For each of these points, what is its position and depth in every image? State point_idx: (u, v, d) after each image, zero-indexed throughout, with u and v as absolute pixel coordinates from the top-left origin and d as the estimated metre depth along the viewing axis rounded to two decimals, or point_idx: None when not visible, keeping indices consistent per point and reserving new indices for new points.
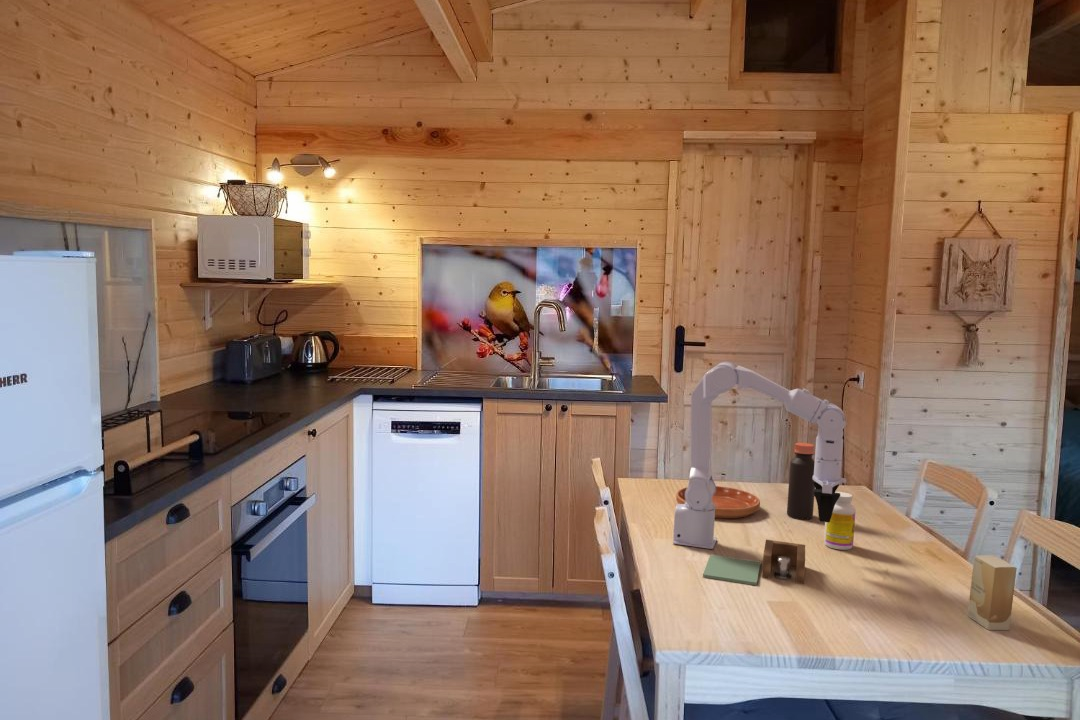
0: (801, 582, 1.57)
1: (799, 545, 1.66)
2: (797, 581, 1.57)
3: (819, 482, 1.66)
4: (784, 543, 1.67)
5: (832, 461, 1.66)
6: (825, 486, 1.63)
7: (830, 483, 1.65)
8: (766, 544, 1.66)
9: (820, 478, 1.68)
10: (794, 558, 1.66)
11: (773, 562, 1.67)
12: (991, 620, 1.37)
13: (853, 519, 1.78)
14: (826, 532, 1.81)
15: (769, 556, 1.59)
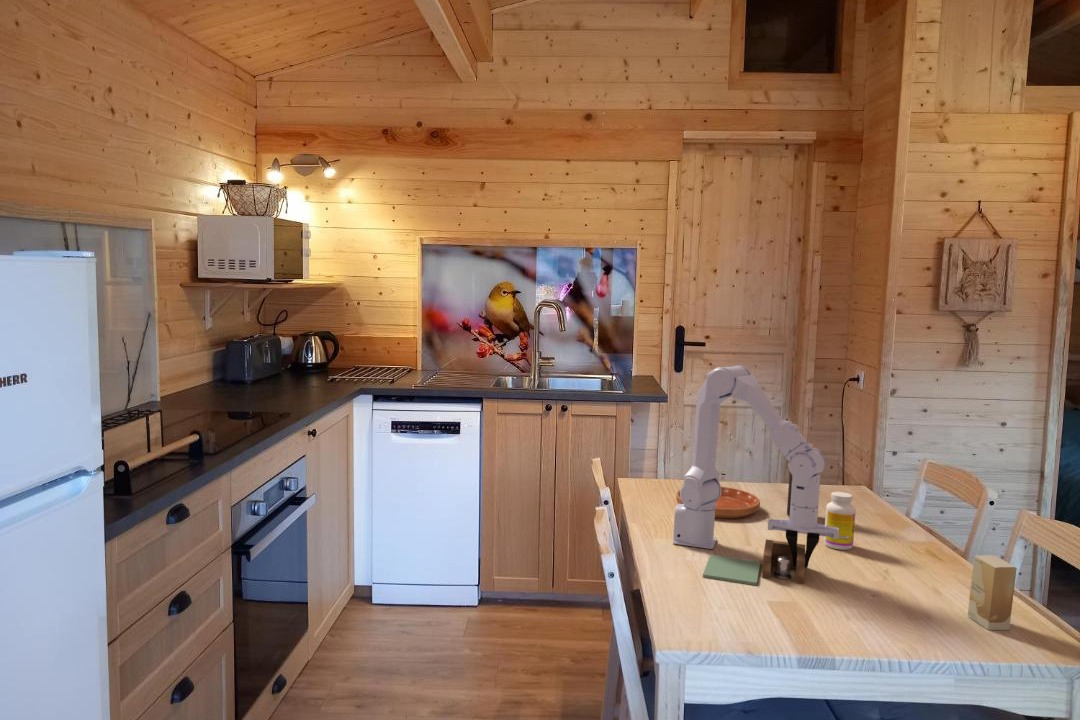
0: (801, 582, 1.57)
1: (799, 545, 1.66)
2: (797, 581, 1.57)
3: None
4: (784, 543, 1.67)
5: (791, 504, 1.62)
6: (768, 520, 1.65)
7: (780, 523, 1.64)
8: (766, 544, 1.66)
9: None
10: None
11: (773, 562, 1.67)
12: (991, 620, 1.37)
13: (853, 519, 1.78)
14: None
15: (769, 556, 1.59)
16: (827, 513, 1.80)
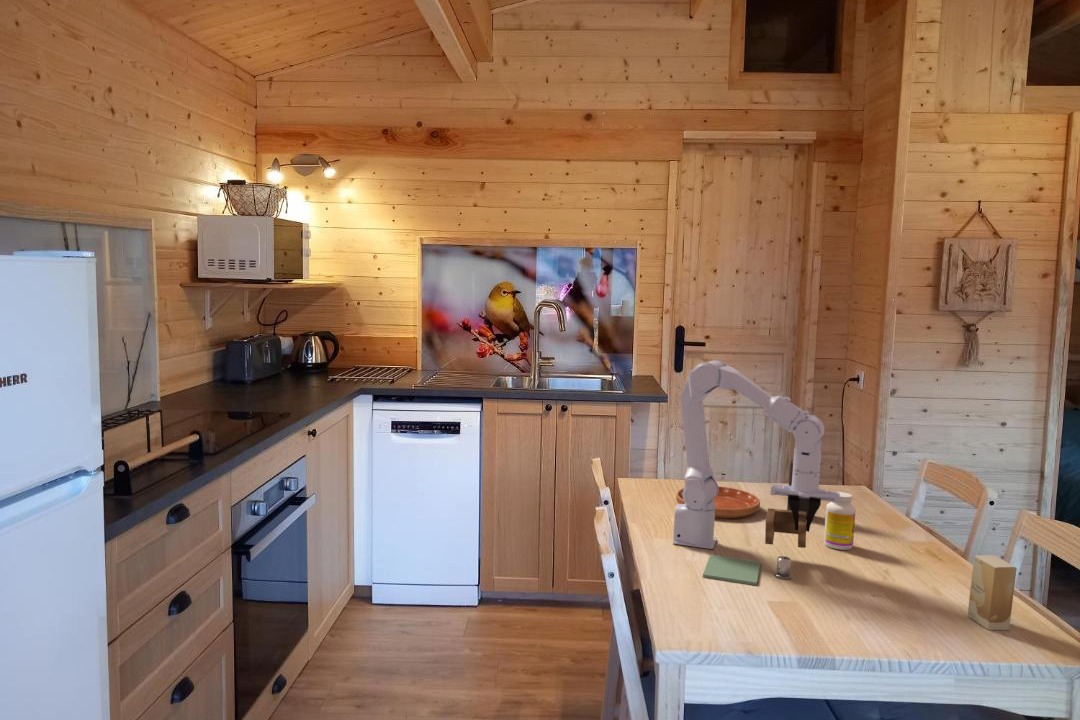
0: (803, 546, 1.62)
1: (800, 512, 1.71)
2: (799, 545, 1.62)
3: None
4: (786, 511, 1.72)
5: (793, 470, 1.67)
6: (771, 486, 1.70)
7: None
8: (768, 512, 1.71)
9: None
10: None
11: (776, 530, 1.73)
12: (991, 620, 1.37)
13: (853, 519, 1.78)
14: (826, 532, 1.81)
15: (771, 522, 1.64)
16: (827, 513, 1.80)
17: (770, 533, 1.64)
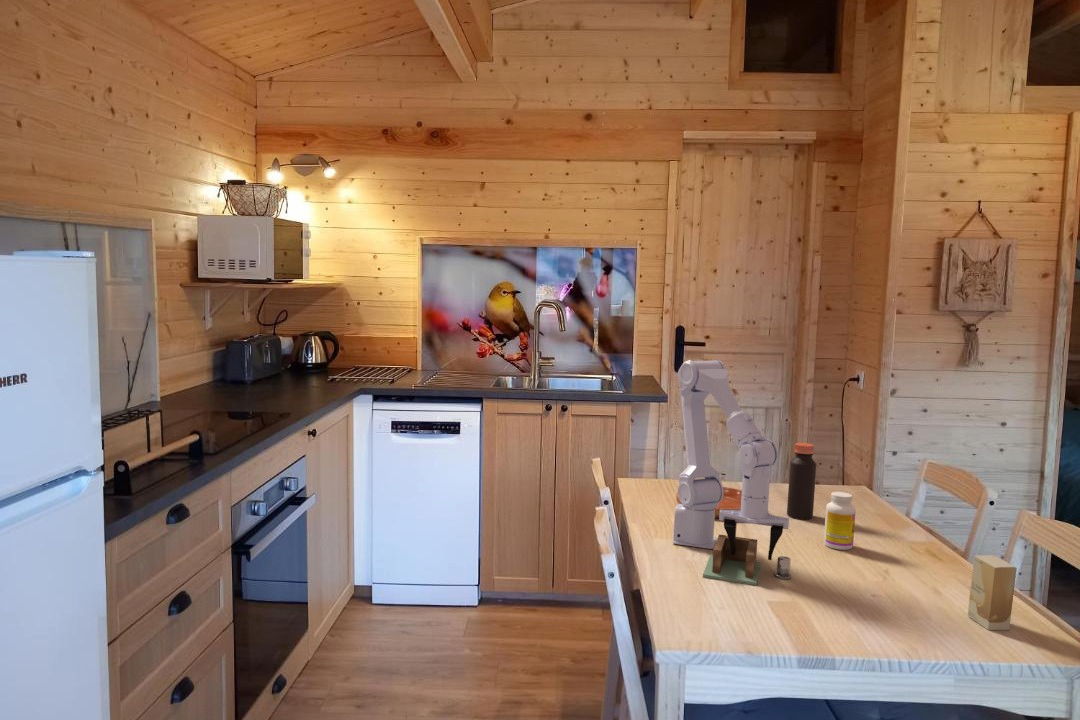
0: (750, 576, 1.57)
1: (751, 540, 1.66)
2: (746, 575, 1.58)
3: None
4: (736, 538, 1.67)
5: None
6: (720, 511, 1.66)
7: (731, 513, 1.64)
8: (718, 539, 1.66)
9: None
10: (746, 553, 1.66)
11: (726, 557, 1.68)
12: (991, 620, 1.37)
13: (853, 519, 1.78)
14: (826, 532, 1.81)
15: (719, 551, 1.59)
16: (827, 513, 1.80)
17: (717, 561, 1.59)
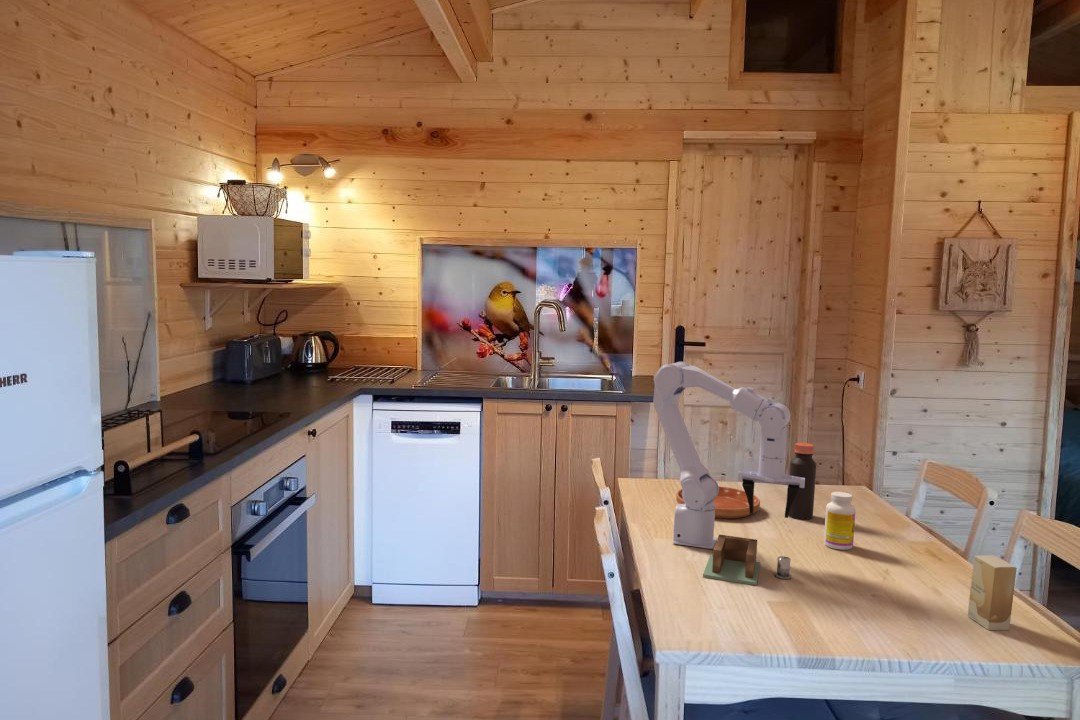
0: (750, 576, 1.57)
1: (751, 540, 1.66)
2: (746, 575, 1.58)
3: None
4: (736, 538, 1.67)
5: (759, 456, 1.71)
6: None
7: (749, 474, 1.72)
8: (718, 539, 1.66)
9: None
10: (746, 553, 1.66)
11: (726, 557, 1.68)
12: (991, 620, 1.37)
13: (853, 519, 1.78)
14: (826, 532, 1.81)
15: (719, 551, 1.59)
16: (827, 513, 1.80)
17: (717, 561, 1.59)
